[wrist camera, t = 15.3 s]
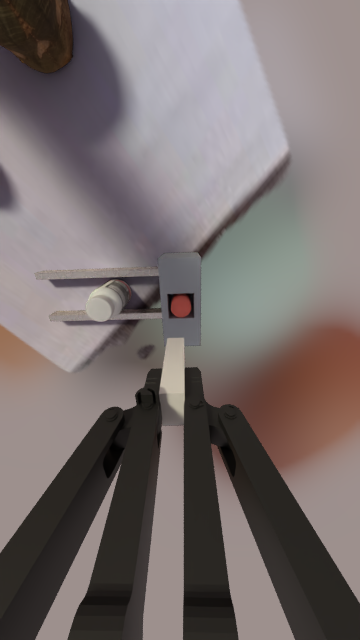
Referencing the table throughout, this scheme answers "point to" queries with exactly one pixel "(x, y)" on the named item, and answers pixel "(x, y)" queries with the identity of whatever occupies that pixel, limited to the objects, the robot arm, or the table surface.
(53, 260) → the table surface
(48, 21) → the shell
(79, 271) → the rails
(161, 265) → the cabinet
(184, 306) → the button
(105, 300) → the pill bottle
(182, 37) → the table surface
